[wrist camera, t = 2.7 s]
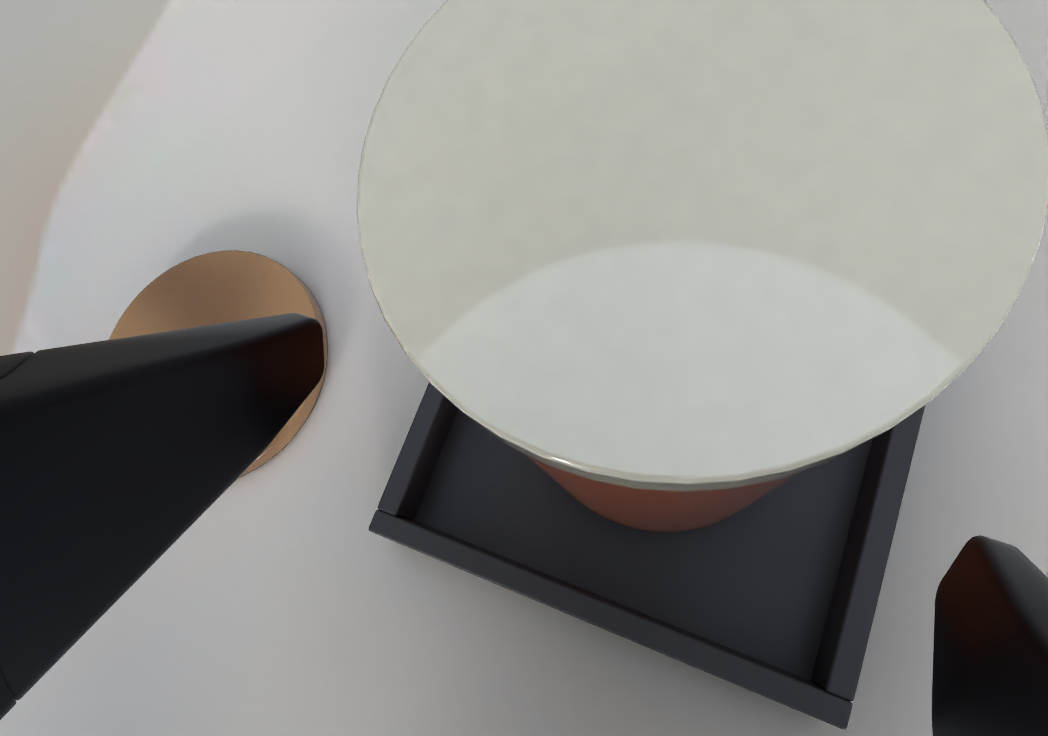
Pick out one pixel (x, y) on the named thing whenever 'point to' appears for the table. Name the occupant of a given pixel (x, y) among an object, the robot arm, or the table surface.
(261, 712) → the table surface
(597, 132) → the canister
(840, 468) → the tray
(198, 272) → the coaster
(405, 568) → the table surface
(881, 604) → the table surface
